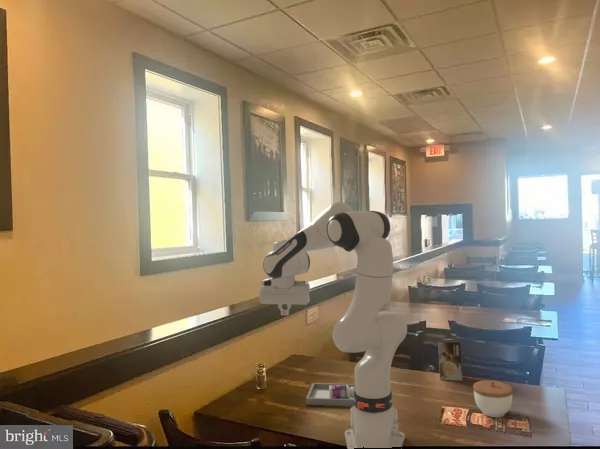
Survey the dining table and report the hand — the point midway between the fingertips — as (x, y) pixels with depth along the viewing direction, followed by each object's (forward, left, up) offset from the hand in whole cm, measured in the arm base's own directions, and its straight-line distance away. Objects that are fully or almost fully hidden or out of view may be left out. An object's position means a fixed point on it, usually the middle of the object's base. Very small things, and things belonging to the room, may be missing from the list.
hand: (284, 314), depth 186 cm
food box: (+21, -66, -32) cm, 76 cm away
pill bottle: (-7, -18, -28) cm, 34 cm away
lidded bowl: (-12, -76, -32) cm, 83 cm away
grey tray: (-4, -20, -31) cm, 37 cm away
